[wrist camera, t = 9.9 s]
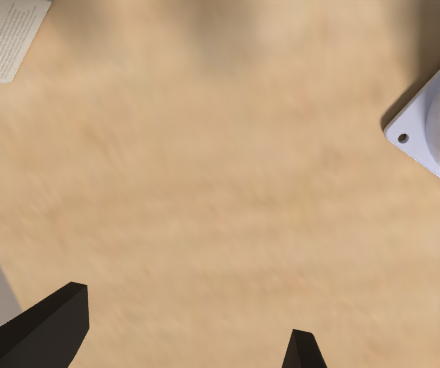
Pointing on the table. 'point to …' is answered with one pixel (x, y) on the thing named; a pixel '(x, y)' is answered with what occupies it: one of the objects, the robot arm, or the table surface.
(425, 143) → the robot arm
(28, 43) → the skincare box
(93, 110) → the table surface
